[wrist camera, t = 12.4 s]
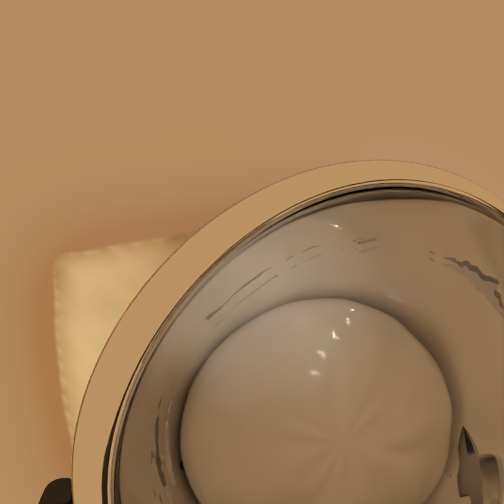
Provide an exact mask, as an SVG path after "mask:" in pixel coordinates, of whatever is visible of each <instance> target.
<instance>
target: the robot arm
mask: <svg viewBox="0 0 504 504" xmlns="http://www.w3.org/2000/svg"><path fill="white" fill-rule="evenodd" d="M458 454H459V470H458V474H457V483H458V490H459V496H460V497H462V496H464V495H466V494H467V495H468V496H469V497H470V500H471V504H500V477H499V470H498V465H497V461H496V458H495V457H494V456H493V455H492V454H489V453H486V454H479V455H478V454H476V453H475V451H474V448H473V446H472V443H471V441H470V438H469V436H468V434H467V432H466V430H465V428H464V426H462V430H461V434H460V439H459V444H458ZM182 468H183V469H184V467H183V463H182ZM39 504H73V498H72V486H71V479H70V478H60V479H56V480H54V481H52V482H51V483H49V484H48V485H47V487H46V488H45V490H44V492H43V494H42V497H41V499H40V501H39Z"/></svg>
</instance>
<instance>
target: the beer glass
mask: <svg viewBox="0 0 504 504" xmlns="http://www.w3.org/2000/svg"><path fill="white" fill-rule="evenodd" d="M462 426H464V428H465V430H466V432H467V434H468V436H469V438H470V441H471V443H472V446H473V448H474V451H475V453H476V454H478V455H479V454H486V453H489V454H492V455H493V456H494V457H495V458H496V461H497V465H498V470H499V477H500V504H504V200H502V199H501V198H499V197H498V196H496V195H495V194H493V193H492V192H490V191H489V190H487V189H485V188H483V187H481V186H480V185H478V184H476V183H474V182H472V181H470V180H468V179H466V178H464V177H461V176H459V175H456V174H454V173H451V172H448V171H445V170H442V169H439V168H435V167H431V166H428V165H423V164H418V163H412V162H405V161H394V160H365V161H364V160H363V161H351V162H344V163H338V164H333V165H328V166H324V167H319V168H316V169H312V170H309V171H305V172H302V173H299V174H296V175H294V176H291V177H288V178H286V179H283V180H281V181H278V182H276V183H274V184H271V185H269V186H267V187H265V188H263V189H261V190H259V191H257V192H255V193H254V194H252V195H250V196H248V197H246V198H244V199H243V200H241V201H239V202H238V203H236V204H234V205H233V206H231V207H229V208H228V209H227V210H225V211H224V212H222V213H221V214H219V215H218V216H216V217H215V218H214V219H212V220H211V221H210V222H208V223H207V224H206V225H204V226H203V227H202V228H201V229H199V230H198V231H197V232H196V233H195V234H193V235H192V236H191V237H190V238H189V239H187V240H186V241H185V242H184V243H183V244H182V245H181V246H180V247H179V248H178V249H177V250H176V251H175V252H174V253H172V254H171V255H170V256H169V258H168V259H167V260H166V261H165V262H164V263H163V264H162V265H161V266H160V267H159V268H158V269H157V270H156V271H155V273H154V274H153V275H152V276H151V277H150V279H149V280H148V281H147V282H146V283H145V284H144V286H143V287H142V288H141V290H140V291H139V292H138V293H137V295H136V296H135V297H134V299H133V300H132V301H131V303H130V304H129V306H128V307H127V309H126V310H125V312H124V313H123V315H122V316H121V318H120V319H119V321H118V322H117V324H116V326H115V327H114V329H113V331H112V333H111V334H110V336H109V338H108V340H107V342H106V344H105V345H104V347H103V349H102V351H101V353H100V355H99V357H98V359H97V362H96V364H95V367H94V369H93V371H92V374H91V376H90V379H89V382H88V384H87V387H86V390H85V393H84V396H83V399H82V403H81V406H80V410H79V414H78V418H77V423H76V428H75V433H74V441H73V449H72V462H71V486H72V498H73V504H471V500H470V497H469V496H468V495H467V494H466V495H464V496H462V497H460V496H459V490H458V483H457V474H458V470H459V454H458V444H459V439H460V434H461V430H462ZM182 463H183V467H184V469H183V468H182Z"/></svg>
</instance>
